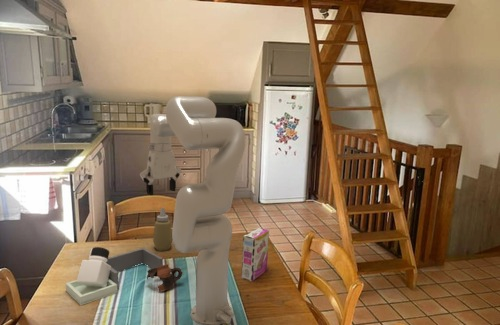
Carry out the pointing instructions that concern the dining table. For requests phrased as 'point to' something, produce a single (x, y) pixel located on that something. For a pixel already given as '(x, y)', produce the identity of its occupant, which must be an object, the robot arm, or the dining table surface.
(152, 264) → the bay
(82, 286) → the tray
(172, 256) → the dining table surface
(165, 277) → the brown mug
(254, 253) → the candy bar box
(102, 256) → the medicine bottle
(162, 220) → the squeeze bottle
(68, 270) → the dining table surface
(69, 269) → the dining table surface
